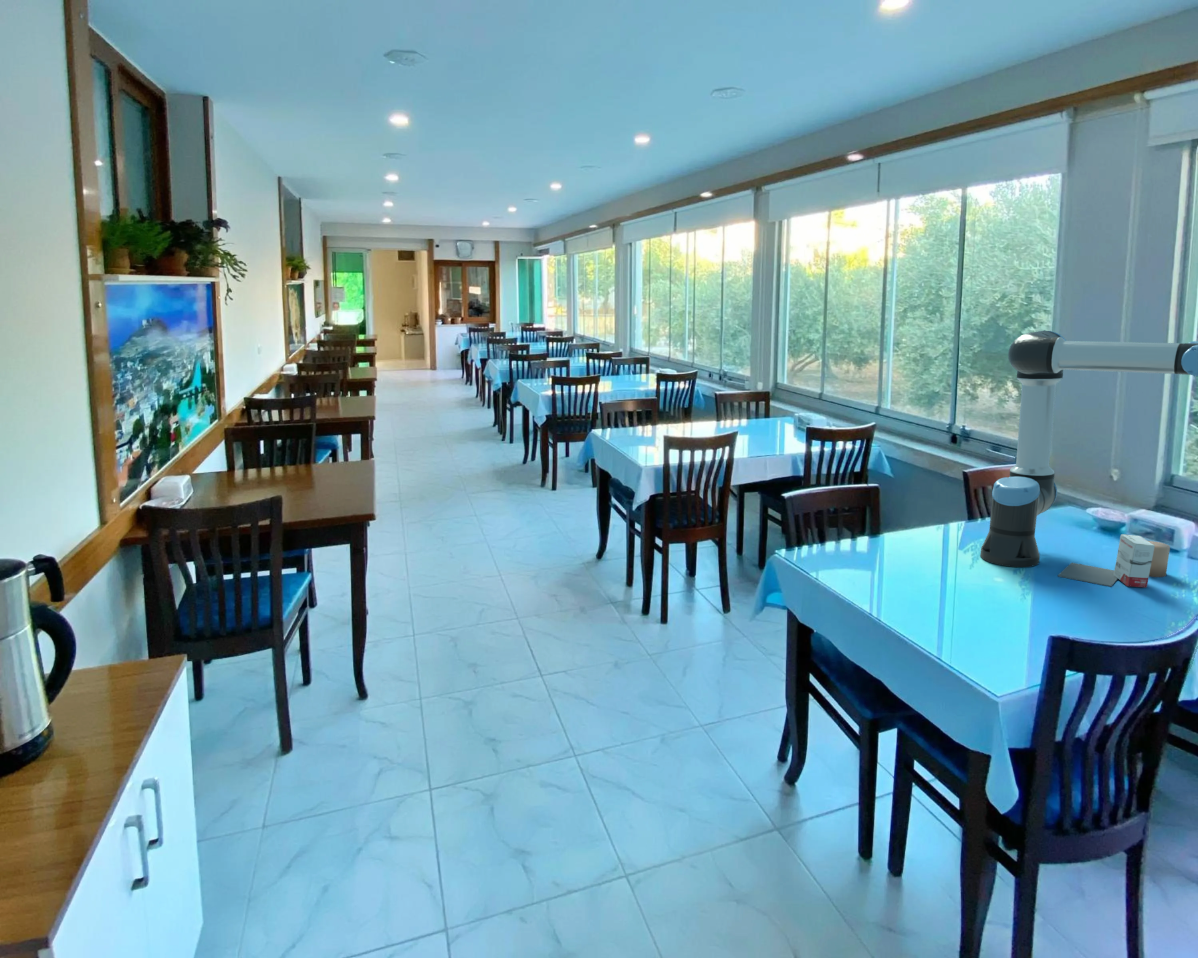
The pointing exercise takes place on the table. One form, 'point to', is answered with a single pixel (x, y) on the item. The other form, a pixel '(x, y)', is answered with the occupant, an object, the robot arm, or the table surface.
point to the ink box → (1133, 560)
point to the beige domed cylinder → (1159, 559)
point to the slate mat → (1089, 574)
